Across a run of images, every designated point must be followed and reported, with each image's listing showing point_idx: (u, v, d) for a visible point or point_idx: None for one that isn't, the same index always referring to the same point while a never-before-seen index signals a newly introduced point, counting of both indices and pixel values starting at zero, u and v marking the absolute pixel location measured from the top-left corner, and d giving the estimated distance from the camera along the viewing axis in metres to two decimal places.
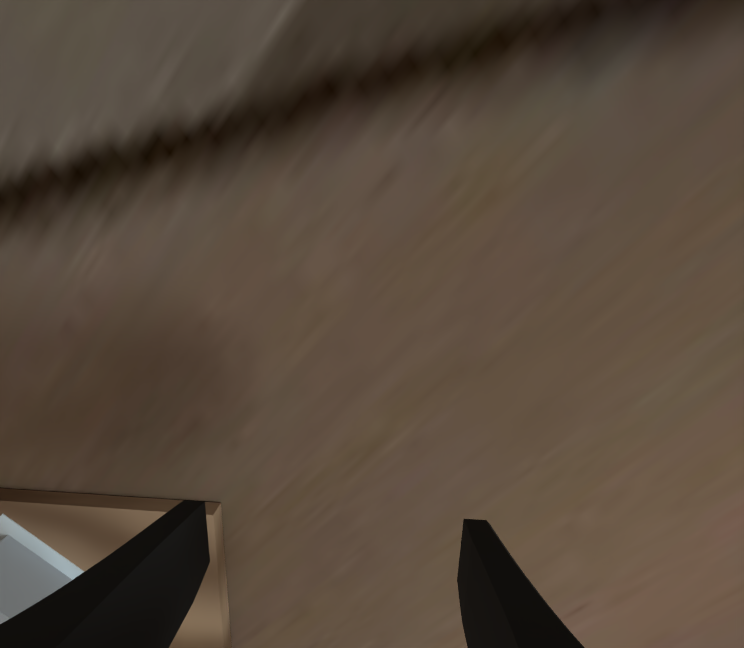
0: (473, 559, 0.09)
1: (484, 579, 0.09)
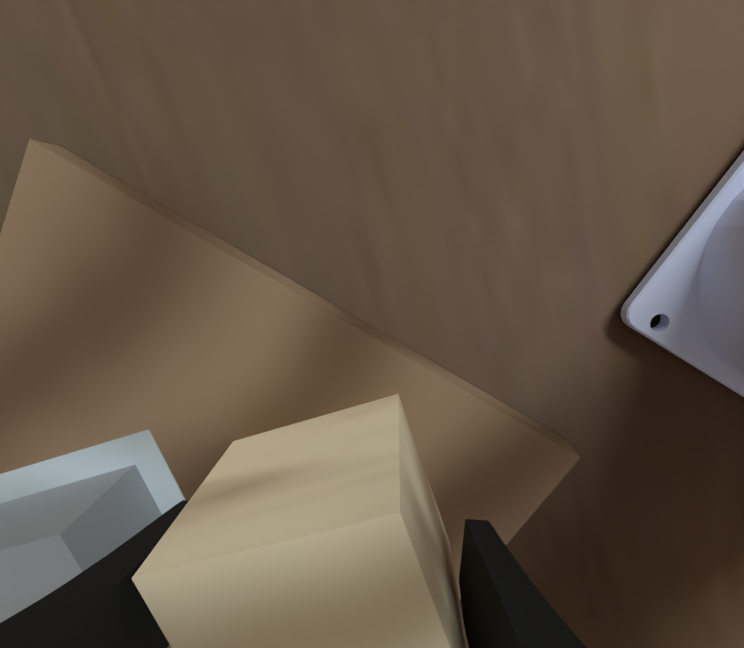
0: (475, 559, 0.09)
1: (486, 579, 0.09)
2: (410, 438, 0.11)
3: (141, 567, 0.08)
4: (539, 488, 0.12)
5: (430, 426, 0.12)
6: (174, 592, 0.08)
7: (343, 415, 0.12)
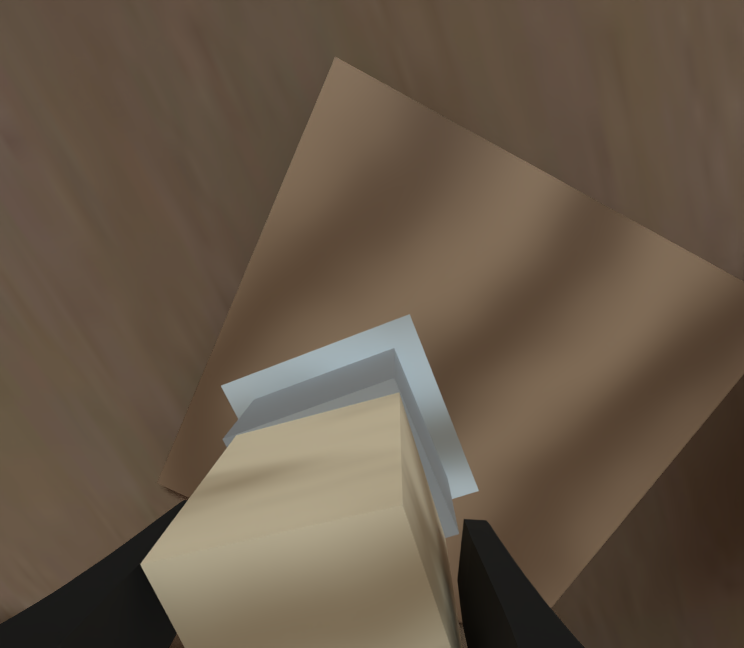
0: (473, 559, 0.09)
1: (484, 579, 0.09)
2: (410, 436, 0.12)
3: (149, 554, 0.08)
4: None
5: (662, 291, 0.14)
6: (180, 578, 0.08)
7: (345, 412, 0.12)
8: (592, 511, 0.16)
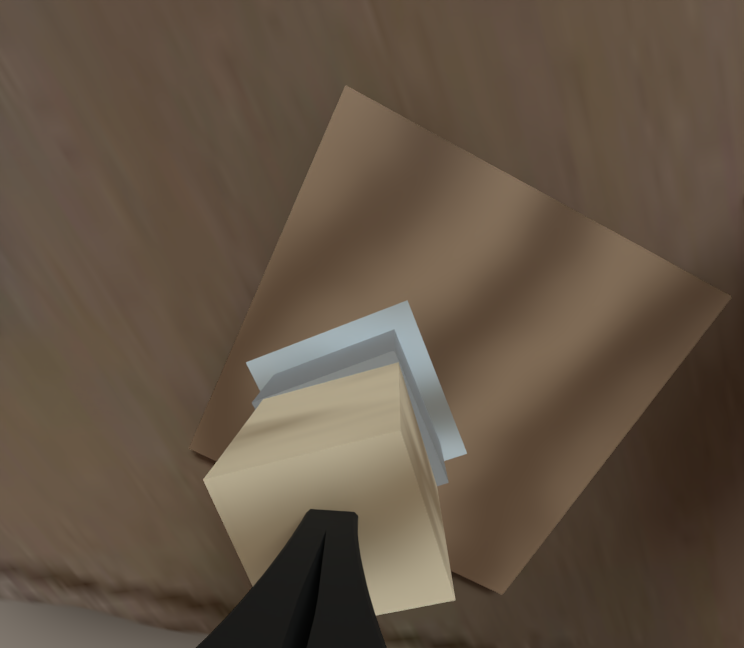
0: None
1: None
2: (407, 397, 0.14)
3: (209, 473, 0.11)
4: (700, 324, 0.17)
5: (620, 280, 0.17)
6: (233, 490, 0.11)
7: (354, 377, 0.15)
8: (565, 471, 0.19)
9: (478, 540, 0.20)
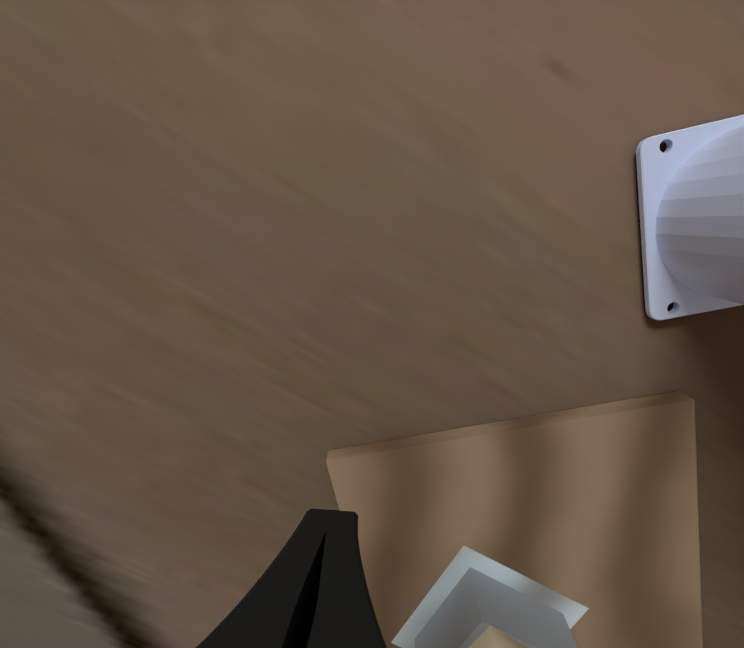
0: None
1: None
2: None
3: None
4: (687, 429, 0.19)
5: (600, 443, 0.19)
6: None
7: None
8: (674, 576, 0.21)
9: None
